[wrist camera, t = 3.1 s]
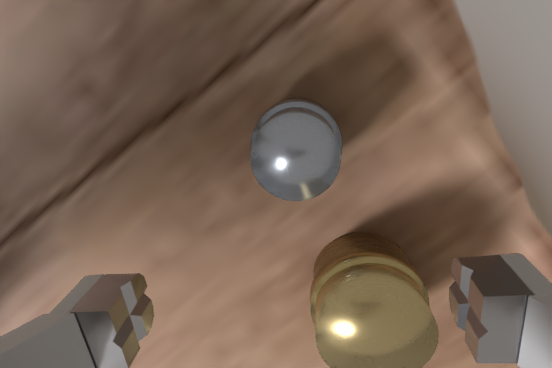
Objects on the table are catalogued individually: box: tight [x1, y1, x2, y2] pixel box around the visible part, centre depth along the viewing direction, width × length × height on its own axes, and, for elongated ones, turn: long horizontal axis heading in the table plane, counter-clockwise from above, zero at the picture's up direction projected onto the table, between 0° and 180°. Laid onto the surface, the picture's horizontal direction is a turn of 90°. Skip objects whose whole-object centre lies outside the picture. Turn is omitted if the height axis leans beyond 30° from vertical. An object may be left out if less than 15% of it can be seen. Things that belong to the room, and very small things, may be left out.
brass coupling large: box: [310, 233, 439, 368], centre depth 26 cm, size 8×8×7 cm
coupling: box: [250, 98, 342, 201], centre depth 23 cm, size 6×6×6 cm
